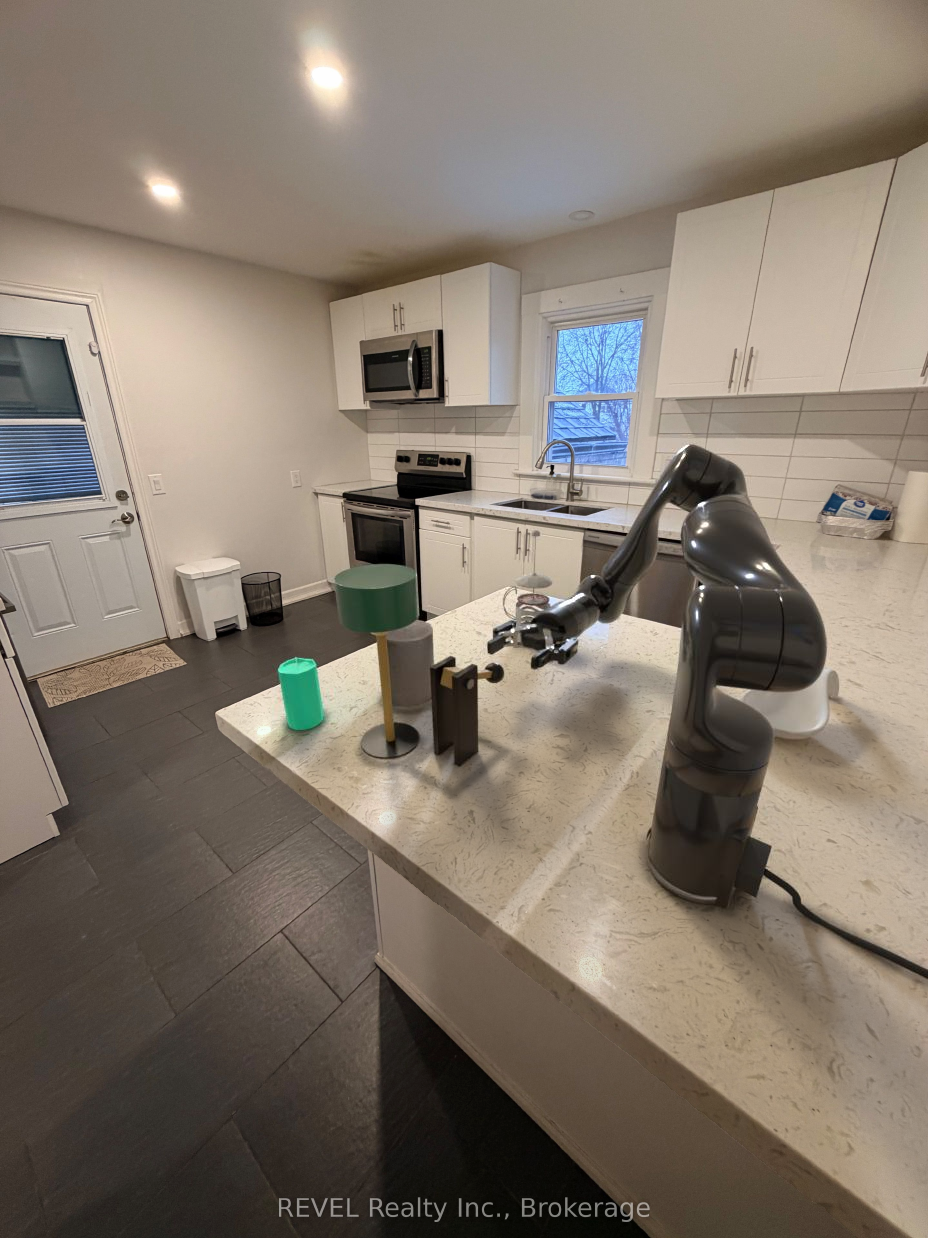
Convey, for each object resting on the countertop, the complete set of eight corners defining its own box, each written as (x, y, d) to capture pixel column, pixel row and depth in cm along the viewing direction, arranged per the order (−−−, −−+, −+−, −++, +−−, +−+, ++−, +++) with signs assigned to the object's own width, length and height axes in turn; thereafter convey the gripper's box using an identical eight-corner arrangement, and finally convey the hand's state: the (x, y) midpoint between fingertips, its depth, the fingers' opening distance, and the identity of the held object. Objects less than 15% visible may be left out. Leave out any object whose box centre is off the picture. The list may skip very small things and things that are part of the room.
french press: (556, 647, 109) (563, 535, 99) (503, 647, 109) (505, 535, 99) (550, 629, 118) (555, 524, 108) (501, 629, 118) (502, 525, 108)
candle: (313, 732, 81) (303, 667, 76) (280, 728, 82) (268, 664, 78) (329, 711, 87) (321, 650, 82) (298, 708, 88) (288, 647, 83)
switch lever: (489, 679, 79) (493, 659, 79) (505, 685, 77) (510, 665, 77) (436, 685, 69) (441, 663, 68) (454, 693, 67) (458, 670, 66)
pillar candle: (373, 696, 91) (365, 621, 85) (416, 679, 97) (412, 607, 91) (402, 719, 84) (396, 639, 78) (447, 699, 90) (444, 623, 84)
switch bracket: (459, 729, 81) (457, 642, 75) (504, 751, 76) (505, 659, 70) (406, 768, 72) (399, 673, 66) (453, 795, 67) (449, 694, 61)
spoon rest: (803, 761, 72) (816, 720, 69) (723, 725, 81) (731, 687, 78) (859, 705, 85) (871, 669, 83) (785, 679, 94) (794, 645, 91)
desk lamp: (459, 752, 75) (455, 578, 65) (407, 792, 68) (393, 601, 57) (393, 718, 84) (379, 559, 74) (340, 750, 76) (316, 578, 66)
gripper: (528, 597, 94) (475, 624, 82) (598, 614, 85) (550, 647, 74) (527, 633, 97) (475, 664, 85) (594, 653, 88) (547, 690, 77)
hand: (510, 656), depth 79 cm, fingers open, 8 cm apart
